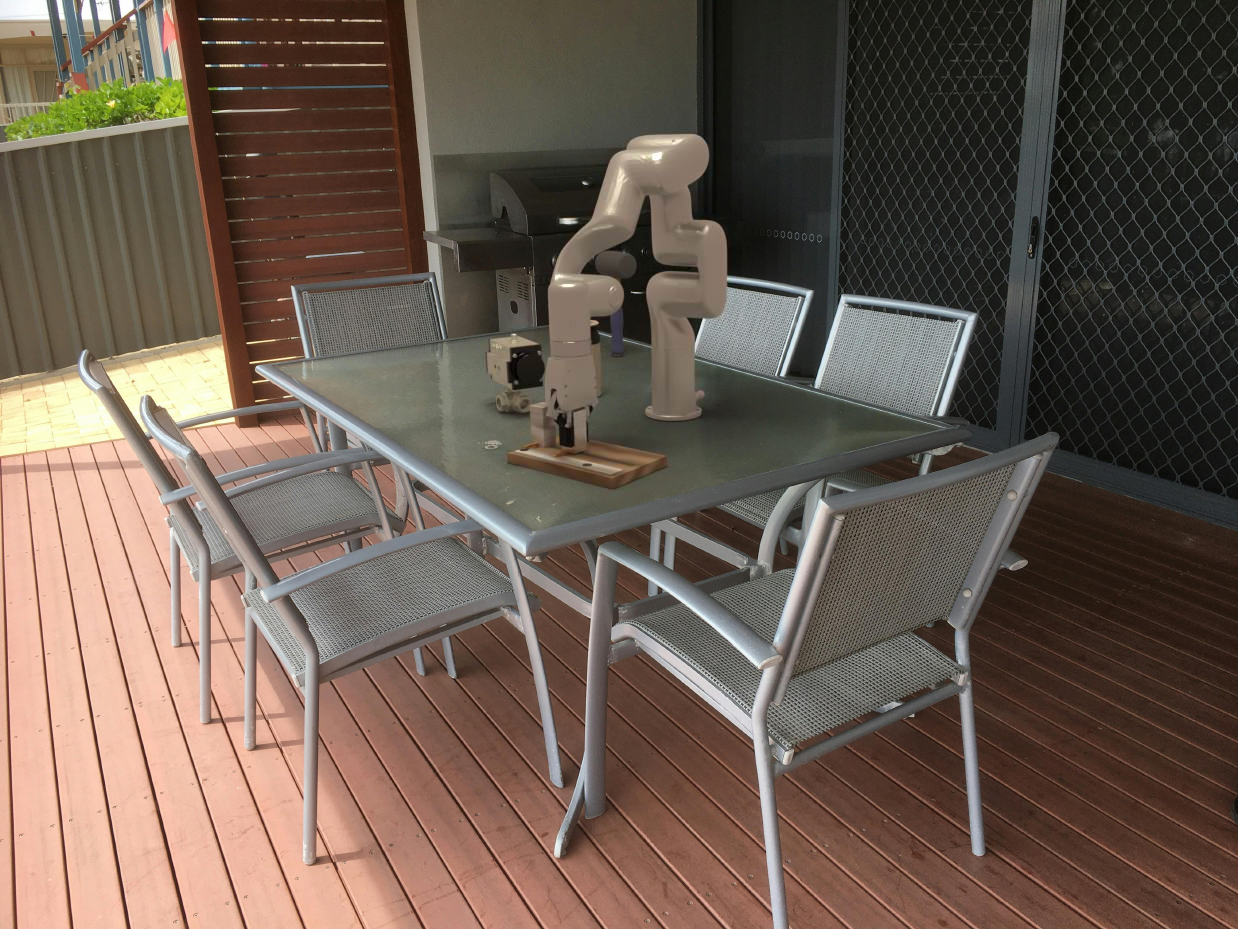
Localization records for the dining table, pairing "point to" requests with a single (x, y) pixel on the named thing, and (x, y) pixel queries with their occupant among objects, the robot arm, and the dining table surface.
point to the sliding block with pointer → (577, 433)
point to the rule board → (582, 456)
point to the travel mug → (596, 353)
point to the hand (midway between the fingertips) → (574, 442)
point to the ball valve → (515, 370)
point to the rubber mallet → (617, 268)
